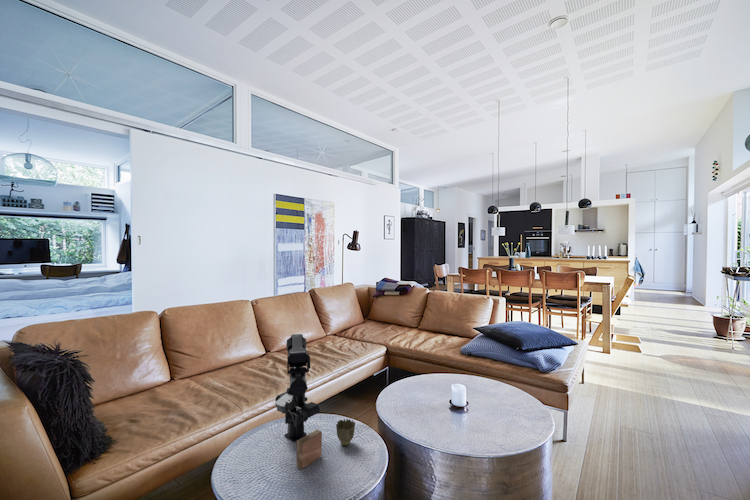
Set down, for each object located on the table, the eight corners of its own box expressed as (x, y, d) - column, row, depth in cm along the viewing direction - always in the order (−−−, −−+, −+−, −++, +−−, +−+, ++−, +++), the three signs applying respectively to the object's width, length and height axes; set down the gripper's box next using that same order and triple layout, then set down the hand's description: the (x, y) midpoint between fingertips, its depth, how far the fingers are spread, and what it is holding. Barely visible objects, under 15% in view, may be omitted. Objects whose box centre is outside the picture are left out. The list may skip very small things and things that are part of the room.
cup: (351, 450, 124) (352, 429, 124) (333, 448, 125) (333, 427, 126) (356, 440, 131) (357, 419, 131) (339, 437, 133) (339, 417, 133)
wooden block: (296, 466, 114) (296, 440, 114) (316, 453, 122) (316, 429, 122) (301, 469, 113) (301, 443, 113) (321, 456, 120) (321, 431, 120)
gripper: (263, 385, 121) (262, 427, 121) (297, 399, 110) (296, 446, 110) (287, 376, 130) (287, 416, 130) (321, 388, 119) (320, 432, 119)
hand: (296, 427), depth 122 cm, fingers closed
